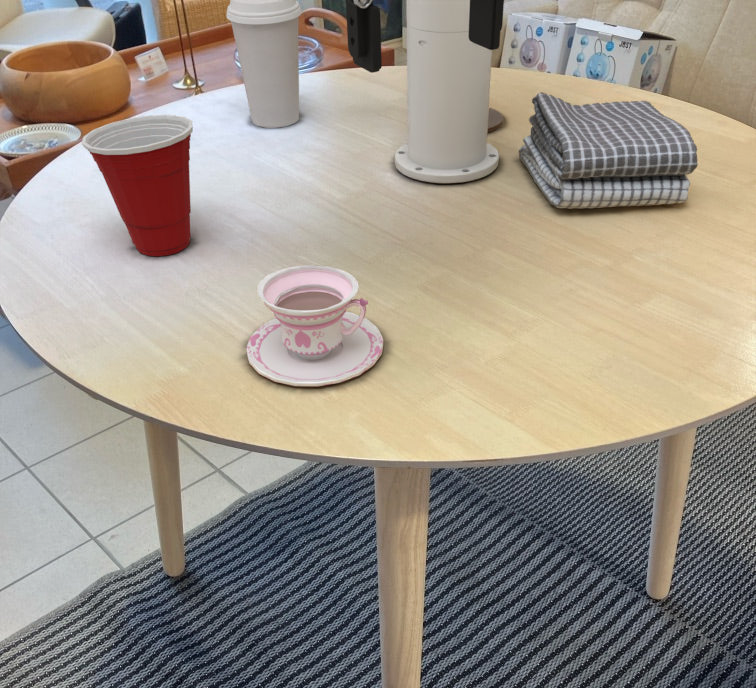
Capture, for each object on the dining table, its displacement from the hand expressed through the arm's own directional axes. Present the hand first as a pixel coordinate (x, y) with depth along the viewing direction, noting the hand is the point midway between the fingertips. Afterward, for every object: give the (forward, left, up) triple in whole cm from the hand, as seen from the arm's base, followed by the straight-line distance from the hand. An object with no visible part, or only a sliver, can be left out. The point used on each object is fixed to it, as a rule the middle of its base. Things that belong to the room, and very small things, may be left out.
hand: (426, 56), depth 61 cm
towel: (-22, +31, -23) cm, 44 cm away
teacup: (-1, -10, -23) cm, 25 cm away
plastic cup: (-27, -19, -23) cm, 40 cm away
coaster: (-46, +25, -23) cm, 57 cm away
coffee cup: (-58, +2, -23) cm, 62 cm away
